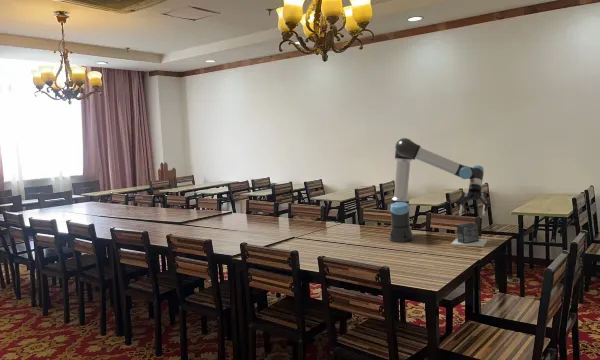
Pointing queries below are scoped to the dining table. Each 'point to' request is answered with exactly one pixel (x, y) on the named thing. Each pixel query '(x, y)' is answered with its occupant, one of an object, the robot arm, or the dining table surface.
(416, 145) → the robot arm
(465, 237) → the small box
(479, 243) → the mat
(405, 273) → the dining table surface
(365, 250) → the dining table surface
